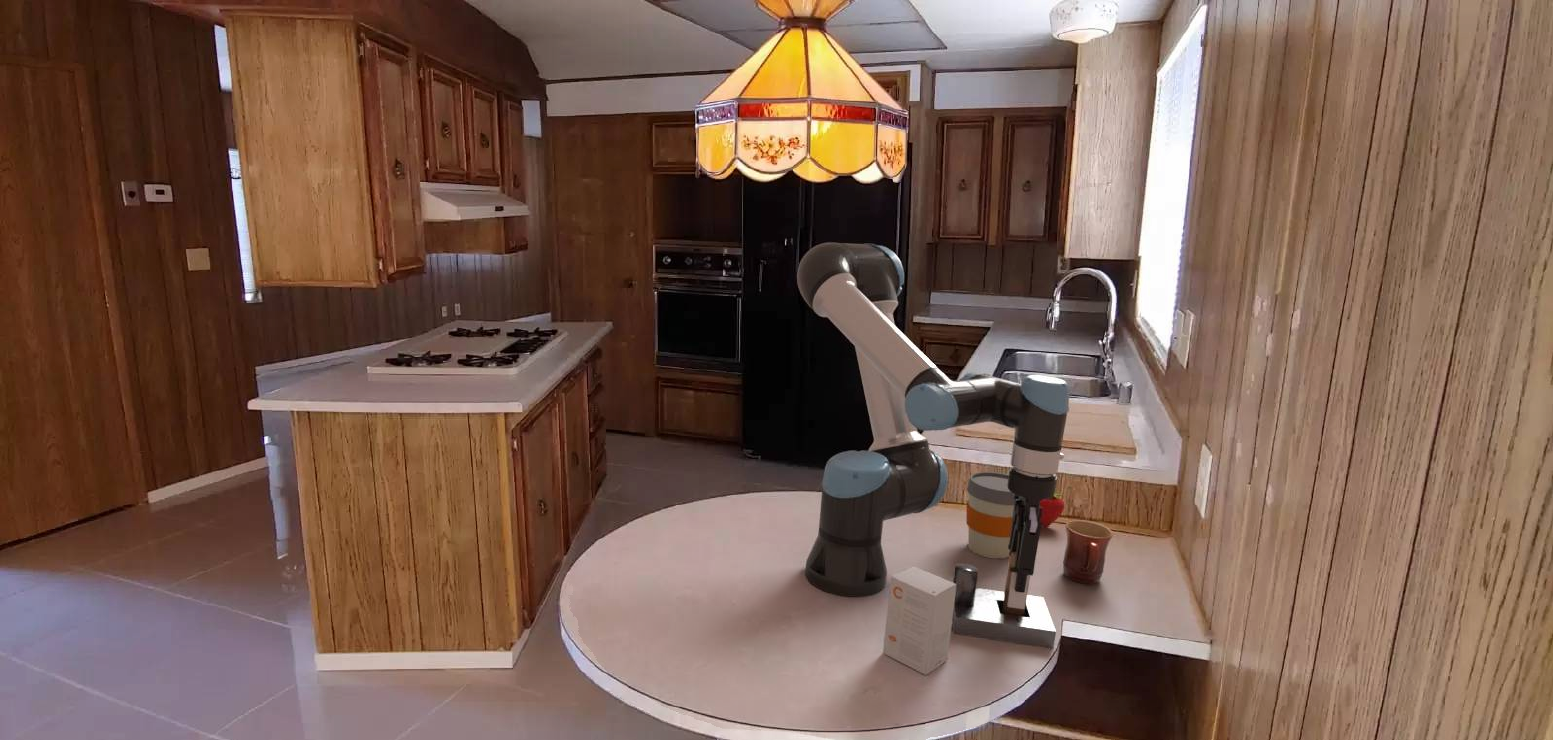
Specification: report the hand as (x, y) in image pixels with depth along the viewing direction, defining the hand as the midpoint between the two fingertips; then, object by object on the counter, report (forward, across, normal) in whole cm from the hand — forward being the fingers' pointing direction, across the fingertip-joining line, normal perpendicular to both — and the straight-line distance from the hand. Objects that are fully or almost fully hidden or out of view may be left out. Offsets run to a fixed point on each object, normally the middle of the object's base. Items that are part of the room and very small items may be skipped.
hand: (1014, 601), depth 136 cm
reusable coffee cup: (+5, +32, 0) cm, 32 cm away
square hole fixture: (+4, 0, +2) cm, 5 cm away
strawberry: (+5, +49, -14) cm, 51 cm away
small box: (+5, -15, +16) cm, 23 cm away
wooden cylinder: (+4, 0, 0) cm, 4 cm away
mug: (+5, +22, -17) cm, 28 cm away
